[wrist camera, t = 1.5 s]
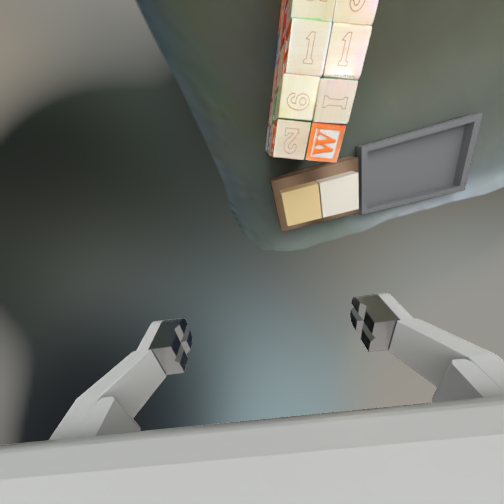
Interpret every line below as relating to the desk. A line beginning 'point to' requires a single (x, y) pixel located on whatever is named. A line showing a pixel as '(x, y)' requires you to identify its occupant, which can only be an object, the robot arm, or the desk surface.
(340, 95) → the stack of blocks
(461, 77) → the desk surface
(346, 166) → the walnut ledge
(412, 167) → the tray
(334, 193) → the cream tile
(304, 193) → the ochre tile
